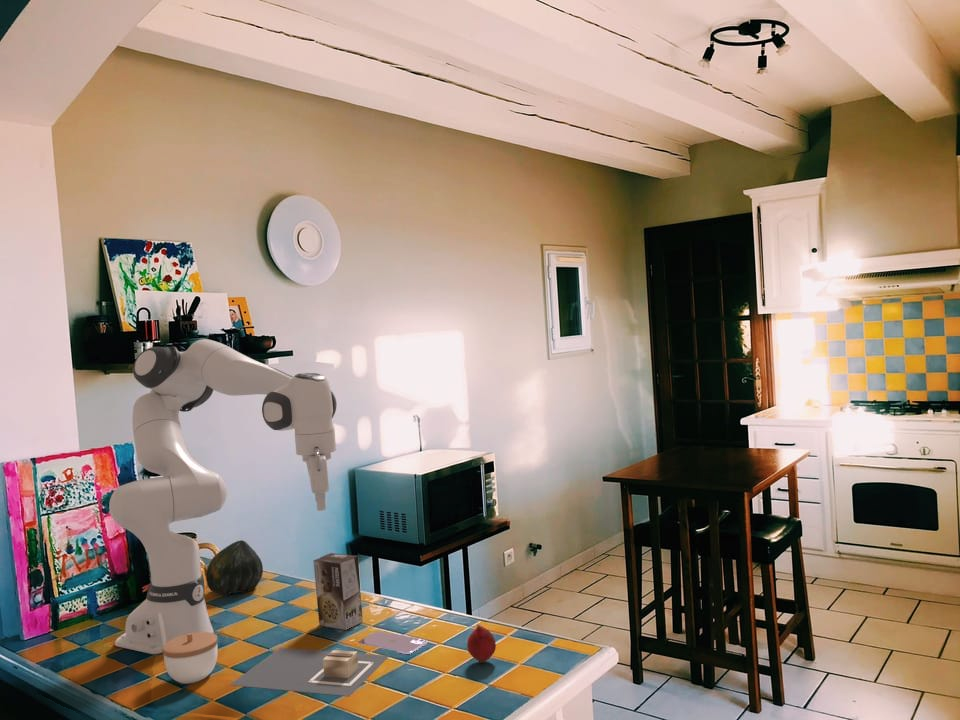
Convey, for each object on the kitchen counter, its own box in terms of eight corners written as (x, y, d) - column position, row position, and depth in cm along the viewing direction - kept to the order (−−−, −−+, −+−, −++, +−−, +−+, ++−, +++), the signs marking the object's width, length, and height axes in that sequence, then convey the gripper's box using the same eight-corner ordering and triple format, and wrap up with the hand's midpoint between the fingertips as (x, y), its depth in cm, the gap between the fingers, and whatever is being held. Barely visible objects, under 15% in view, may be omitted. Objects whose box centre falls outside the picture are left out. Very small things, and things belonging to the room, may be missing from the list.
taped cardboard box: (324, 676, 152) (322, 658, 152) (334, 666, 156) (333, 649, 156) (348, 678, 150) (347, 660, 150) (358, 668, 154) (357, 650, 154)
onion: (500, 657, 156) (497, 619, 156) (491, 669, 150) (489, 630, 150) (474, 655, 158) (471, 617, 157) (464, 667, 152) (461, 628, 152)
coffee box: (364, 621, 181) (359, 555, 181) (345, 631, 176) (340, 563, 176) (336, 616, 186) (331, 551, 186) (317, 625, 181) (312, 559, 180)
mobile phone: (376, 629, 174) (429, 638, 166) (376, 633, 174) (429, 643, 166) (355, 642, 168) (409, 652, 160) (355, 646, 168) (409, 657, 160)
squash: (192, 574, 212) (209, 538, 206) (239, 561, 224) (256, 527, 217) (213, 614, 206) (232, 579, 199) (261, 599, 217) (279, 565, 210)
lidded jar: (189, 694, 149) (185, 648, 149) (154, 685, 154) (150, 640, 154) (231, 671, 158) (227, 627, 158) (196, 663, 164) (193, 621, 163)
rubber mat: (229, 686, 151) (229, 684, 151) (280, 649, 168) (280, 647, 168) (349, 698, 142) (349, 695, 142) (389, 657, 160) (389, 655, 160)
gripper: (332, 449, 160) (337, 513, 160) (327, 438, 180) (332, 495, 180) (302, 452, 158) (307, 517, 159) (300, 441, 178) (305, 498, 179)
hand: (320, 505), depth 170 cm, fingers open, 8 cm apart
